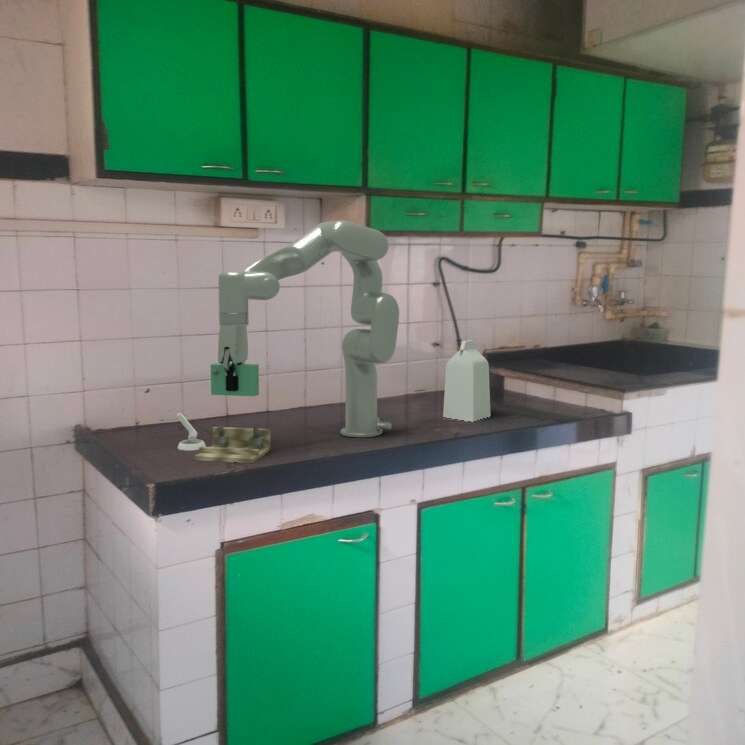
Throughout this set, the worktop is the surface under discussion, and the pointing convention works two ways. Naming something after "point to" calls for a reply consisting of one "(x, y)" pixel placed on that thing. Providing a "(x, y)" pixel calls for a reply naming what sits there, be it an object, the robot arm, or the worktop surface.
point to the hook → (192, 442)
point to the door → (246, 380)
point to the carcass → (236, 445)
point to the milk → (467, 385)
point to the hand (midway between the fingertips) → (234, 389)
